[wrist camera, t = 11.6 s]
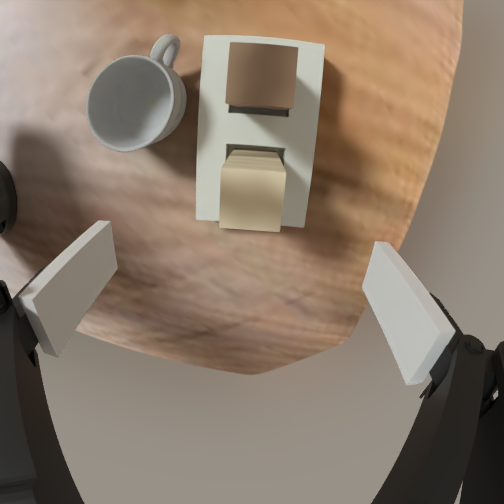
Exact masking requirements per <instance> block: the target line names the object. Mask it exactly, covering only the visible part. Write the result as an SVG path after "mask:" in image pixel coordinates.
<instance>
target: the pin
mask: <svg viewBox="0 0 504 504" xmlns="http://www.w3.org/2000/svg"><path fill="white" fill-rule="evenodd" d="M285 181H286V171H285V168H284V166H283V164H282V162H281V160H280V158H279V156H278V153H277V151H272V150H259V149H245V148H234V149H233V151H232V152H231V154H230V155H229V157H228V158H227V160H226V161H225V163H224V164H223V166H222V167H221V180H220V209H219V228H230V229H245V230H258V231H272V232H280V226H281V217H282V208H283V200H284V191H285Z"/></svg>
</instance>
